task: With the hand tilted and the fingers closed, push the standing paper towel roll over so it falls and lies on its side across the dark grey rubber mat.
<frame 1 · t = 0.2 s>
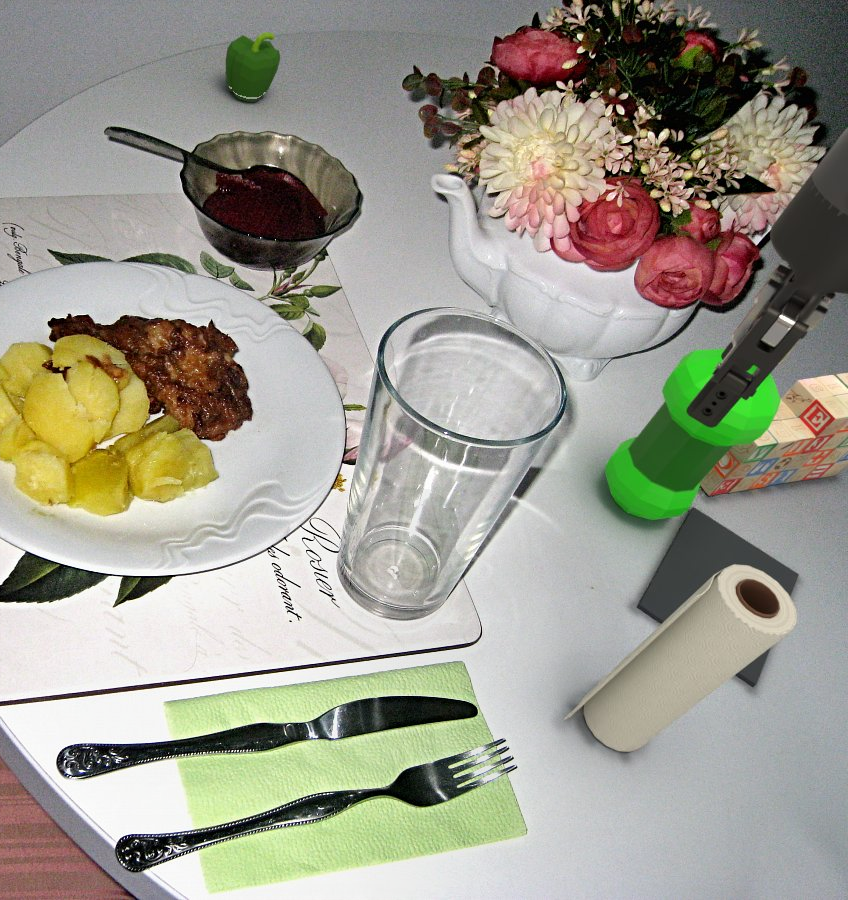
hand: (717, 390, 64), 31 cm above the table, tool pointing down, fingers open, 8 cm apart
mat: (719, 591, 94), on the table
bell pepper: (245, 95, 144), on the table
plastic bottle: (632, 500, 101), on the table
stack of blocks: (757, 467, 109), on the table
paper towel roll: (606, 718, 81), on the table
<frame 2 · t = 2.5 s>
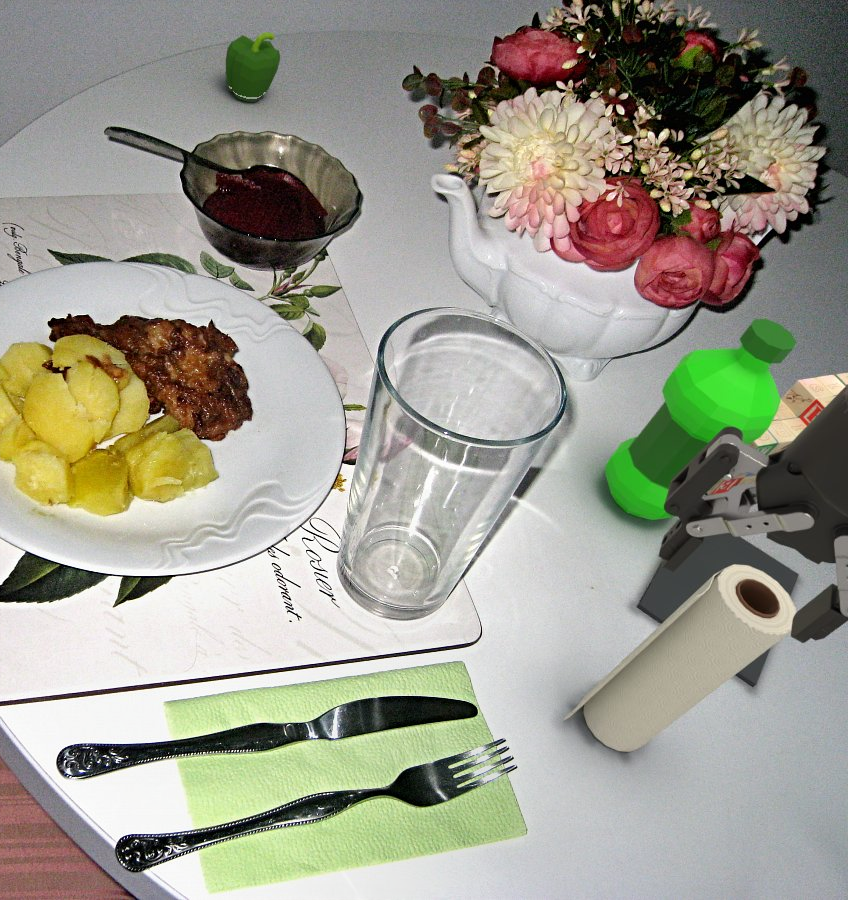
hand: (731, 595, 57), 27 cm above the table, tool pointing down, fingers open, 8 cm apart
nothing on the table moved.
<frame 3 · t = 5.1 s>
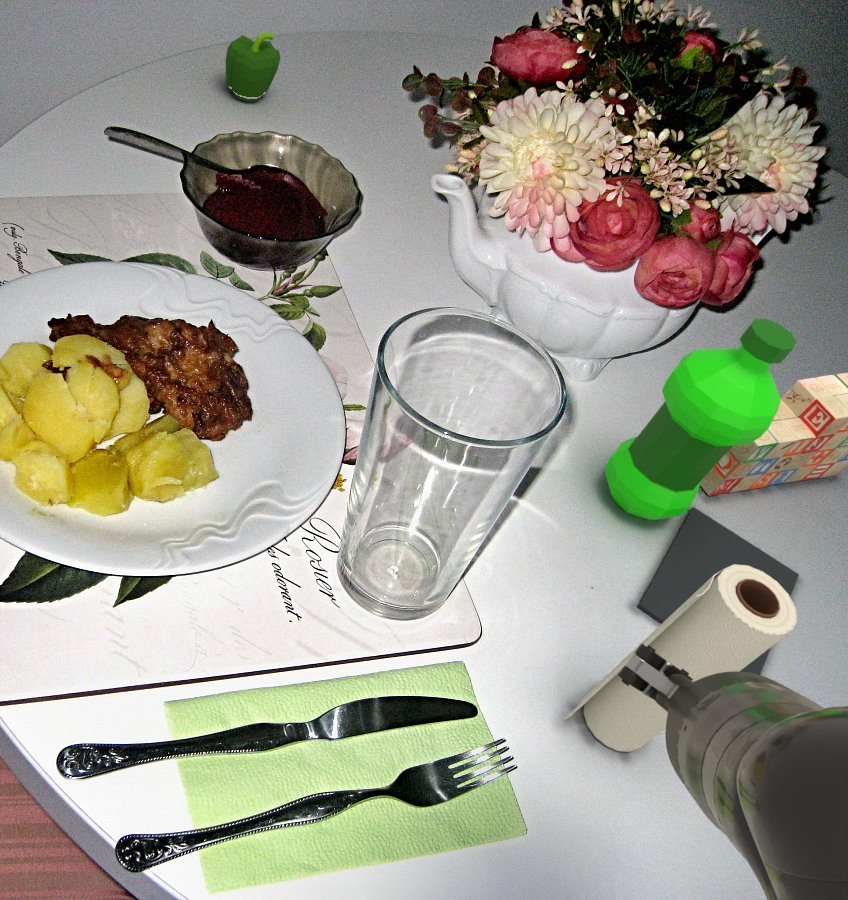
hand: (695, 702, 60), 20 cm above the table, tool tilted 45°, fingers closed
nothing on the table moved.
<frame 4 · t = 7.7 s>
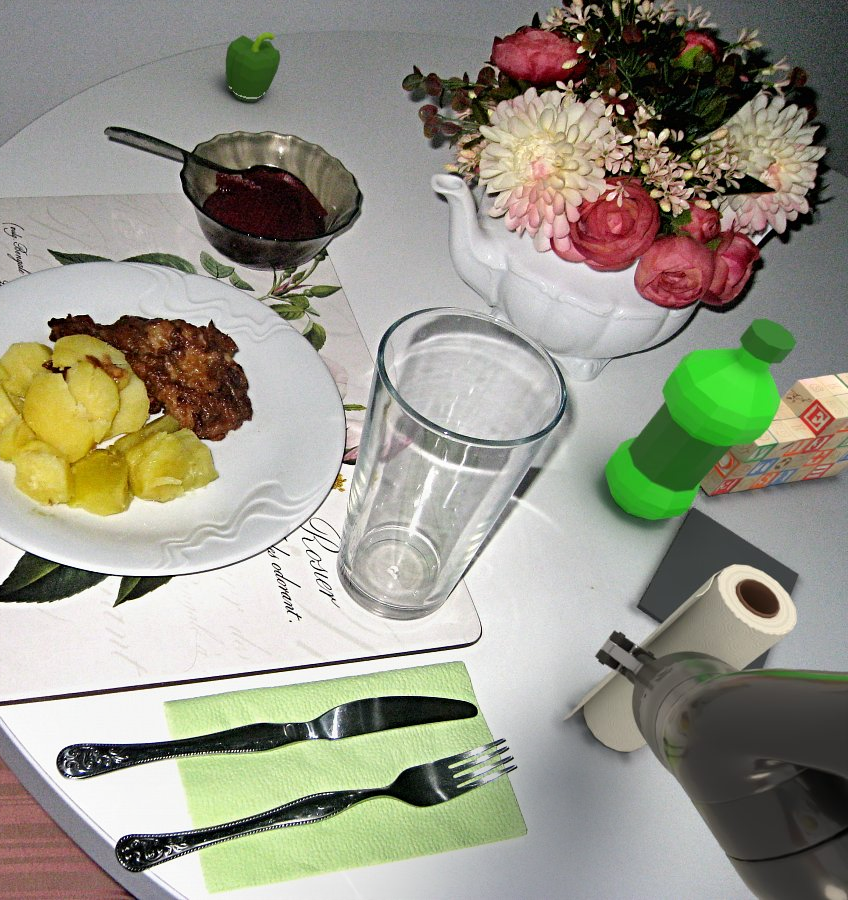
hand: (661, 679, 72), 11 cm above the table, tool tilted 45°, fingers closed
paper towel roll: (606, 718, 81), on the table, touching gripper
everything else where it was.
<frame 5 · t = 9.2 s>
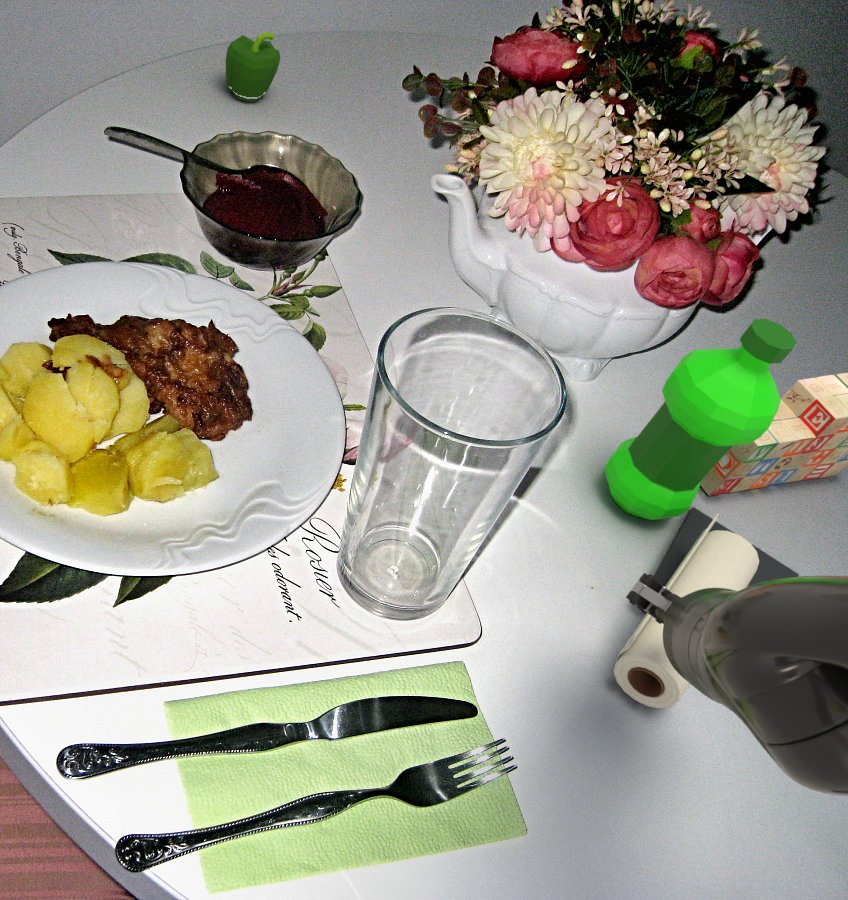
hand: (685, 623, 77), 10 cm above the table, tool tilted 45°, fingers closed
paper towel roll: (639, 680, 81), point 3 cm above the table, touching mat
everything else where it was.
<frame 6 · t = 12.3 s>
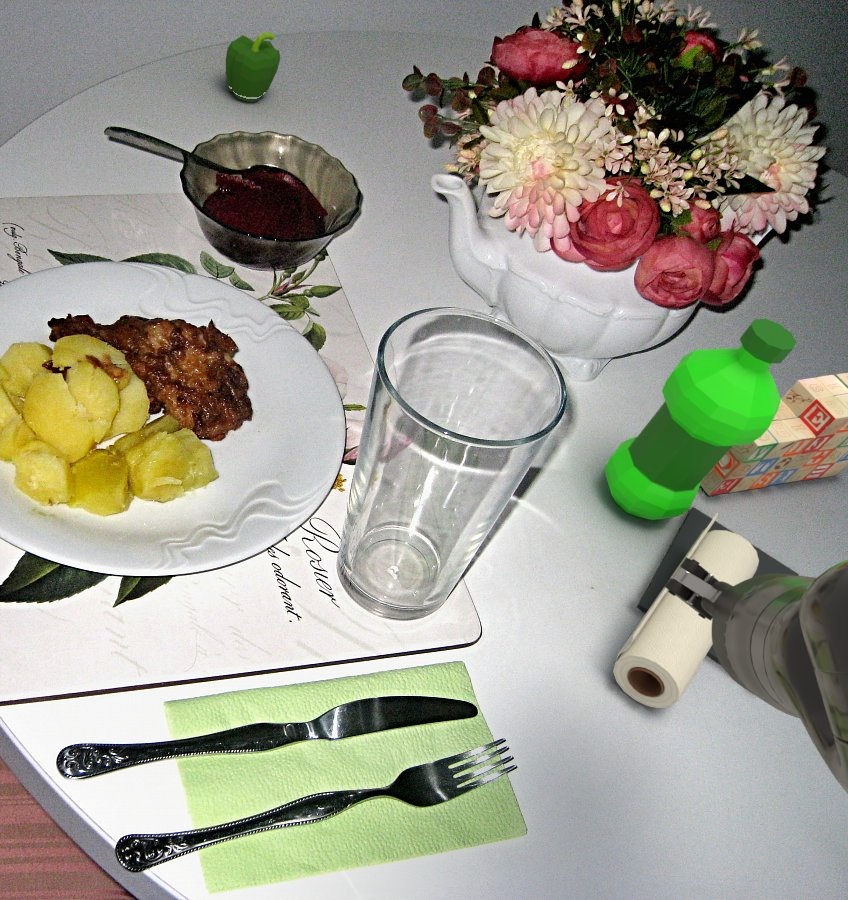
hand: (732, 619, 66), 20 cm above the table, tool tilted 45°, fingers closed
nothing on the table moved.
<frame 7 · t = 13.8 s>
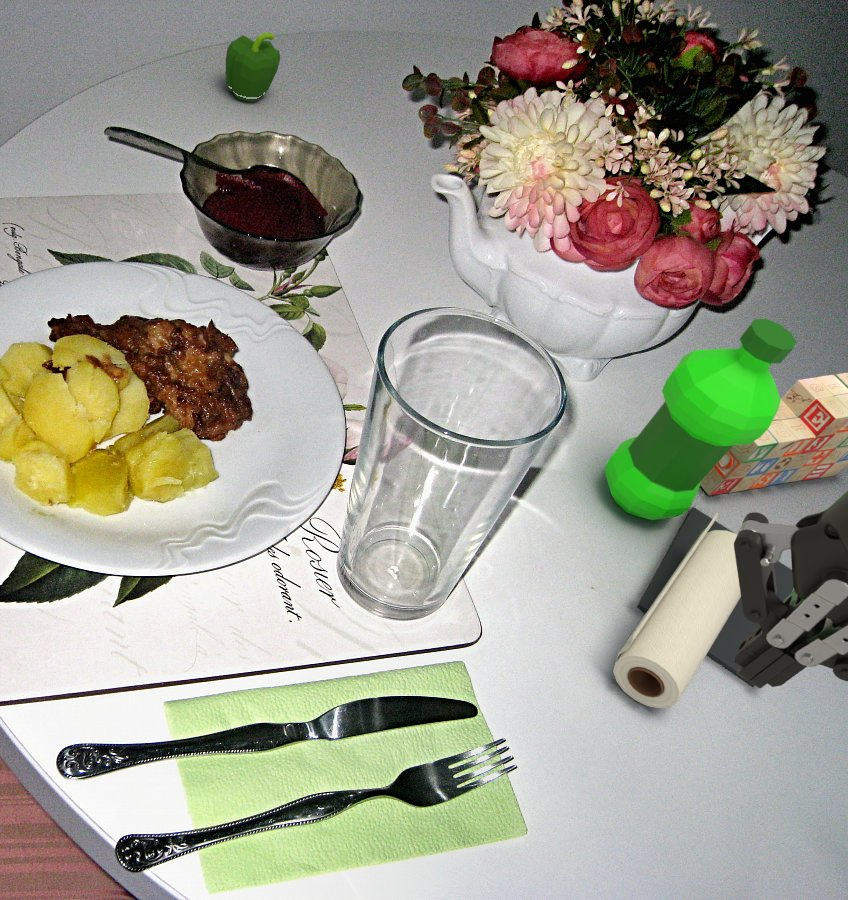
hand: (750, 671, 54), 27 cm above the table, tool pointing down, fingers closed
nothing on the table moved.
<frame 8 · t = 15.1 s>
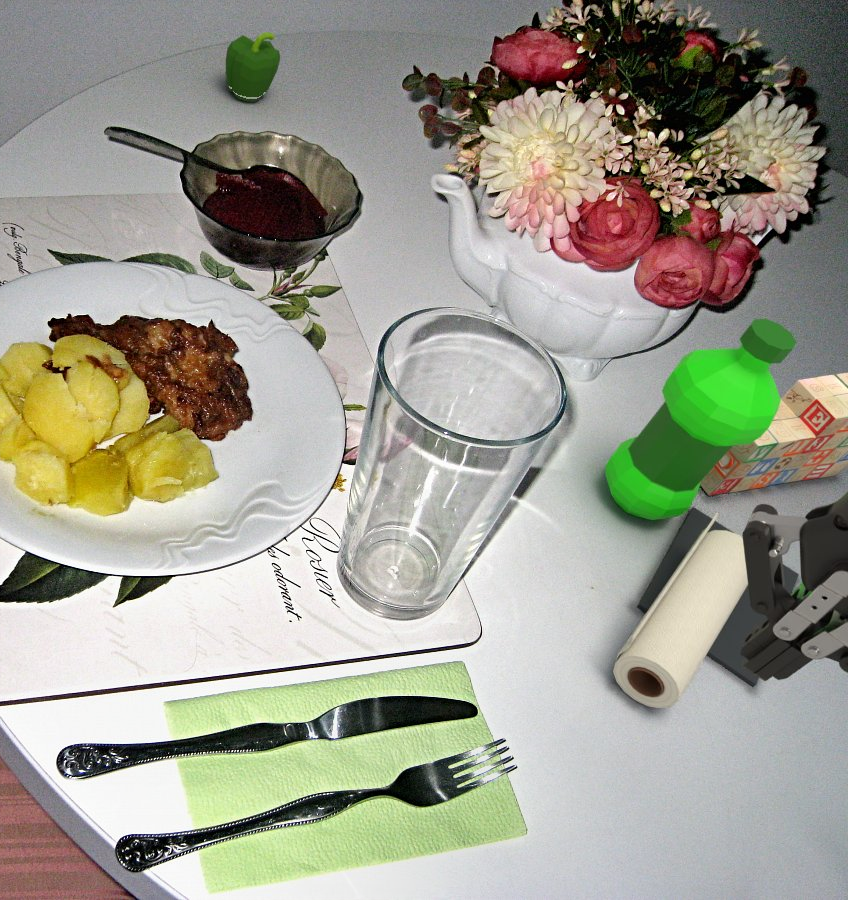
hand: (756, 664, 54), 27 cm above the table, tool pointing down, fingers closed
nothing on the table moved.
at the end: paper towel roll tilted 89°; paper towel roll touching mat, table; the gripper is holding nothing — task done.
